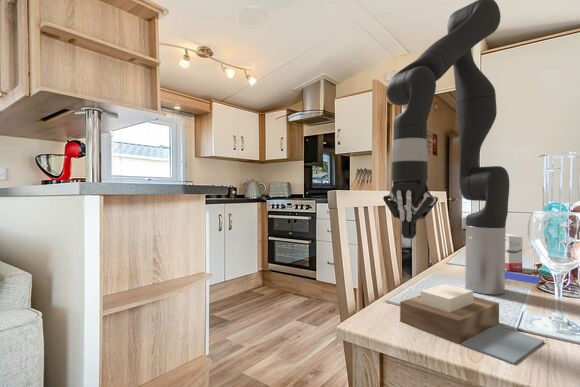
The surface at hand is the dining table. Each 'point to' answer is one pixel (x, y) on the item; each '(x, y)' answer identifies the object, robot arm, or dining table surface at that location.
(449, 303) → the cream foam brick
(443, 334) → the brown wooden block
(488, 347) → the mat
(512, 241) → the ink box
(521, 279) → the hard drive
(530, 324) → the dining table surface
